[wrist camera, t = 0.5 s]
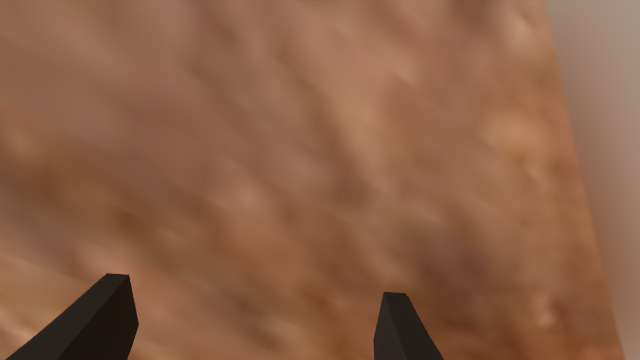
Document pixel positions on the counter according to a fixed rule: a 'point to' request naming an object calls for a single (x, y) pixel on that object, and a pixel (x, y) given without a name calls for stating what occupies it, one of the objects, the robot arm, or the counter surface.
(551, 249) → the counter surface
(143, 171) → the counter surface
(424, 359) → the robot arm
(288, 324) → the counter surface
